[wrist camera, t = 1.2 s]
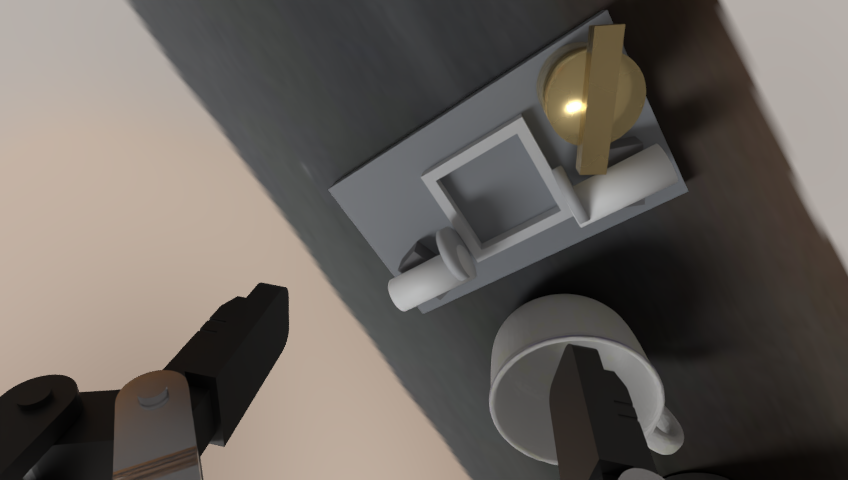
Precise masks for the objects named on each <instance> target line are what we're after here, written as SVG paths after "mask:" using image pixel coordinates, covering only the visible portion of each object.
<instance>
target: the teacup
mask: <svg viewBox="0 0 848 480" xmlns="http://www.w3.org/2000/svg"><path fill="white" fill-rule="evenodd" d="M567 344H574V345H580V346H585V347H590V348H595V349H597V350H598V352H599V355H600V358H601V362H602V365H603V368H604V370H609V371H614V372H615V373H616V374H617V376H618V377H619V378H620V379H621V381H622V382H623V383H624V384H625V386H626V387H627V389H628V391H629V394H630V397H631V400H632V403H633V407H634V408H635V411H636V414H637V417H638V421H639V422H640V425H641V428H642V431H643V433H644V436H645V439H646V442H647V444H648V447H649V448H650V449H652V450H653V451H655V452H657V453H660V454H663V455H668V454H673V453H674V452H676V451H677V450H678V449H679V448H680V447H681V446H682V444H683V441H684V434H683V431H682V428H681V426H680V424H679V423H678V421H677V420H676V418H675V417H674V416H673V414H672V413H671V412H670V411H669V410H668V409H667V408H666V407H665V406H664V403H665V397H664V387H663V384H662V381H661V379H660V377H659V375H658V373H657V371H656V369H655V368H654V367H653V365H652V364H651V363H650V362H649V360H648V358H647V356H646V355H645V353H644V351H643V349H642V347H641V345H640V344H639V342H638V340H637V339H636V337H635V335H634V334H633V332H632V331H631V329H630V328H629V326H628V325H627V324H626V323H625V322H624V320H623V319H622V318H621V317H620V316H619V315H618V314H617V313H616V312H614V311H613V310H612V309H611V308H609V307H608V306H606V305H604V304H603V303H601V302H598V301H596V300H594V299H591V298H588V297H585V296H580V295H574V294H554V295H548V296H543V297H540V298H537V299H534V300H532V301H530V302H528V303H525V304H524V305H522V306H521V307H519V308H518V309H516V310H515V311H514V312H513V313H512V314H511V315H510V316H509V317H508V318H507V319H506V320H505V321H504V323H503V324H502V326H501V327H500V329H499V331H498V333H497V336H496V338H495V341H494V345H493V350H492V360H491V389H490V393H489V405H490V412H491V417H492V418H493V421H494V424H495V426H496V427H497V429H498V431H499V432H500V434H501V435H502V436H503V437H504V438H505V440H506V441H508V442H509V443H510V444H511V445H512V446H513V447H514V448H516V449H517V450H519V451H521V452H522V453H524V454H525V455H527V456H529V457H532V458H535V459H537V460H540V461H544V462H547V463H550V464H555V465H558V461H557V454H556V447H555V440H554V433H553V426H552V420H551V413H550V406H549V395H550V388H551V384H552V381H553V378H554V376H555V373H556V370H557V368H558V365H559V362H560V360H561V357H562V355H563V352H564V349H565V347H566V346H567Z"/></svg>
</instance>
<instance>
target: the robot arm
mask: <svg viewBox="0 0 848 480" xmlns="http://www.w3.org/2000/svg"><path fill="white" fill-rule="evenodd" d="M288 333H289V297H288V290H287V288H286V287H281V286H276V285H271V284H265V283H259V284H258V285H257V286H256V287H255V288H254V289H253V290H252V292H251V293H250V294H249V295H248V296H247V298H244V297H238V296H237V297H236V298H234V299H232V300H230V301H228V302H227V303H225V304H223V305H221V306H220V307H219V308H218V310H217V311H216V312H215V313H214V314H213V315H212V316H211V317H210V320H209V321H207V322H206V323H205V324H204V325H203V326H202V327H201V329H200V331H198V332H197V333H196V334H195V335H194V336H193V337H192V338H191V339H190V340H189V342H188V343H187V344H186V345H185V346H184V347H183V348H182V349H181V350H180V351H179V353H178V354H177V355H176V356H175V357H174V358H173V359H172V360H171V362H169V364H168V365H167V366H166V367H165V368H164V369H163V370H158V371H152V372H149V373H146V374H143V375H140V376H138V377H136V378H135V379H133V380H132V381H130V382H129V383H127V384H126V385H125V386H124V387H123V388H122V389H121V390H109V391H94V392H79V390H78V387H77V384H76V382H75V381H74V380H73V379H72V378H70V377H67V376H64V375H46V376H41V377H36V378H34V379H30V380H27V381H25V382H23V383H21V384H18V385H17V386H15V387H13V388H12V389H10V390H8V391H7V392H6V393H4V394H3V395H2V396H1V397H0V480H203V474H202V466H201V459H200V456H201V455H202V453H203V452H204V450H205V449H206V447H207V446H208V444H214V445H218V446H223V447H225V445H226V443H227V442H228V440H229V438H230V437H231V435H232V433H233V432H234V430H235V428H236V427H237V425H238V424H239V422H240V420H241V418H242V417H243V415H244V414H245V412H246V410H247V409H248V407H249V405H250V404H251V402H252V400H253V399H254V397H255V396H256V394H257V392H258V391H259V389H260V387H261V386H262V384H263V382H264V381H265V379H266V377H267V376H268V374H269V372H270V370H271V369H272V368H273V366H274V364H275V363H276V361H277V359H278V358H279V356H280V354H281V353H282V351H283V349H284V347H285V345H286V342H287V338H288ZM549 406H550V413H551V420H552V426H553V433H554V440H555V447H556V454H557V461H558V467H559V474H560V480H729V479H727V478H725V477H722V476H718V475H715V474H708V473H684V474H678V475H674V476H670V477H667V478H665V479H664V478H662V477H661V476H659V475H658V472H657V470H656V467H655V464H654V461H653V458H652V456H651V453H650V450H649V447H648V444H647V442H646V439H645V436H644V433H643V431H642V428H641V425H640V422H639V421H638V417H637V414H636V411H635V408H634V407H633V403H632V400H631V397H630V394H629V391H628V389H627V387H626V386H625V384H624V383H623V382H622V381H621V379H620V378H619V377H618V376H617V374H616V373H615V372H614V371H609V370H604V368H603V365H602V362H601V358H600V355H599V352H598V350H597V349H595V348H590V347H585V346H580V345H574V344H567V346H566V347H565V349H564V352H563V355H562V357H561V360H560V362H559V365H558V368H557V370H556V373H555V376H554V378H553V381H552V384H551V388H550V395H549Z"/></svg>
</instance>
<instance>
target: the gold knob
mask: <svg viewBox="0 0 848 480" xmlns="http://www.w3.org/2000/svg"><path fill="white" fill-rule="evenodd" d="M624 32H625V24H603V25H589V31H588V42H574V43H570V44H567V45H564V46H562V47H560V48H559V49H557V50H556V51H554V52H553V53H552V54H551V55H550V56H549V57H548V58H547V59H546V61H545V62H544V64H543V65H542V67H541V69H540V71H539V74H538V77H537V83H536V91H537V97H538V100H539V102H540V105H541V106H542V108H543V110H544V112H545V114H546V116H547V118H548V120H549V122H550V124H551V126H552V127H553V129H554V130H555V132H556V133H557V134H558V135H559V136H560V137H561V138H562V139H564V140H565V141H567V142H569V143H571V144H574V145H577V146H578V148H577V159H576V169H577V171H578V172H579V174H580V175H606V173H607V165H608V158H609V150H610V143H611V142H613V141H615V140H617V139H618V138H620V137H621V136H623V135H624V134H625V133H626V132H627V131H628V130H630V129H631V127H632V126H633V125H634V124H635V123H636V121H637V119H638V118H639V116H640V114H641V112H642V110H643V107H644V103H645V99H646V84H645V79H644V76H643V74H642V72H641V70H640V68H639V67H638V65H637V64H636V63H635V62H634V61H633V60H632V59H631V58H629V57H628V56H627V55H625V54H623V53H622V48H623V40H624Z"/></svg>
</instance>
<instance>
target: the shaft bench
mask: <svg viewBox="0 0 848 480" xmlns="http://www.w3.org/2000/svg"><path fill="white" fill-rule="evenodd" d="M603 24H613V21H612V19H611V17H610V15H609V12H608V10H602V11H600V12H599V13H597V14H595V15H594V16H592V17H591V18H589V19H588V20H586V21H585V22H583V23H582V24H580V25H578V26H577V27H575V28H574V29H572V30H571V31H569V32H568V33H566V34H565V35H563V36H561V37H560V38H558V39H557V40H555V41H554V42H552V43H551V44H549V45H547V46H546V47H544V48H543V49H541V50H540V51H538V52H537V53H535V54H534V55H532V56H530V57H529V58H527V59H526V60H524V61H523V62H521V63H520V64H518V65H516V66H515V67H513V68H512V69H510V70H509V71H507V72H506V73H504V74H503V75H501V76H499V77H498V78H496V79H495V80H493V81H492V82H490V83H489V84H487V85H486V86H484V87H482V88H481V89H479V90H478V91H476V92H475V93H473V94H472V95H470V96H468V97H467V98H465V99H464V100H462V101H461V102H459V103H458V104H456V105H455V106H453V107H451V108H450V109H448V110H447V111H445V112H444V113H442V114H441V115H439V116H438V117H436V118H434V119H433V120H431V121H430V122H428V123H427V124H425V125H424V126H422V127H420V128H419V129H417V130H416V131H414V132H413V133H411V134H410V135H408V136H407V137H405V138H403V139H402V140H400V141H399V142H397V143H396V144H394V145H393V146H391V147H390V148H388V149H386V150H385V151H383V152H382V153H380V154H379V155H377V156H376V157H374V158H372V159H371V160H369V161H368V162H366V163H365V164H363V165H362V166H360V167H359V168H357V169H355V170H354V171H352V172H351V173H349V174H348V175H346V176H345V177H343V178H342V179H340V180H338V181H337V182H335V183H334V184H333V185H332V186H331V187H330V188H329V189H328V190H329V192H330V193H331V194H332V195H333V197H334V198H335V199H336V201H337V202H338V203H339V205H340V206H341V207H342V209H343V210H344V211H345V213H346V214H347V215H348V216H349V218H350V219H351V220H352V222H353V223H354V224H355V226H356V227H357V228H358V230H359V231H360V232H361V234H362V235H363V236H364V237H365V239H366V240H367V241H368V243H369V244H370V245H371V247H372V248H373V249H374V251H375V252H376V253H377V255H378V256H379V257H380V258H381V260H382V261H383V262H384V264H385V265H386V266H387V268H388V269H389V270H390V272H391V273H392V274H393V276H394V277H395V278H393V279H391V280H390V281H389V283H388V290H389V294H390V296H391V299H392V301H393V302H394V304H395V305H396V306H397V307H398V308H399V309H400V310H402V311H407V310H409V309H411V308H413V307H415V306H417V307H418V308H419V310H420V311H421V312H422V314H424V313H426V312H428V311H431V310H433V309H435V308H437V307H439V306H441V305H444V304H446V303H448V302H450V301H452V300H454V299H457V298H459V297H461V296H463V295H465V294H467V293H470V292H472V291H474V290H476V289H478V288H480V287H483V286H485V285H487V284H489V283H491V282H493V281H495V280H498V279H500V278H502V277H504V276H506V275H508V274H511V273H513V272H515V271H517V270H519V269H521V268H524V267H526V266H528V265H530V264H532V263H534V262H537V261H539V260H541V259H543V258H545V257H547V256H550V255H552V254H554V253H556V252H558V251H560V250H562V249H565V248H567V247H569V246H571V245H573V244H575V243H578V242H580V241H582V240H584V239H586V238H588V237H591V236H593V235H595V234H597V233H599V232H601V231H604V230H606V229H608V228H610V227H612V226H614V225H616V224H619V223H621V222H623V221H625V220H627V219H629V218H632V217H634V216H636V215H638V214H640V213H642V212H645V211H647V210H649V209H651V208H653V207H655V206H658V205H660V204H662V203H664V202H666V201H668V200H671V199H673V198H675V197H677V196H679V195H681V194H683V193H686V192H688V189H687V187H686V185H685V183H684V180H683V178H682V176H681V174H680V171H679V169H678V167H677V165H676V162H675V160H674V158H673V156H672V154H671V151H670V149H669V147H668V145H667V142H666V140H665V138H664V136H663V133H662V131H661V129H660V127H659V124H658V122H657V120H656V118H655V115H654V113H653V111H652V109H651V106H650V104H649V102H648V100H647V98H646V99H645V103H644V107H643V110H642V112H641V114H640V116H639V118H638V119H637V121H636V123H635V124H634V125H633V126H632V127H631V129H630V130H628V131H627V132H626V133H625V134H624V135H623V136H621V137H620V138H618V139H617V140H615V141H613V142H611V143H610V150H609V158H608V165H607V173H606V175H580V174H579V172H578V171H577V169H576V159H577V148H578V146H577V145H574V144H571V143H569V142H567V141H565V140H564V139H562V138H561V137H560V136H559V135H558V134H557V133H556V132H555V130H554V129H553V127H552V126H551V124H550V122H549V120H548V118H547V116H546V114H545V112H544V110H543V108H542V106H541V105H540V102H539V100H538V97H537V91H536V83H537V77H538V74H539V71H540V69H541V67H542V65H543V64H544V62H545V61H546V59H547V58H548V57H549V56H550V55H551V54H552V53H553V52H554V51H556V50H557V49H559V48H560V47H562V46H564V45H567V44H570V43H574V42H588V31H589V25H603ZM622 53H623V54H625V55H627V53H626V50H625V48H624V46H623V48H622ZM627 56H628V55H627Z"/></svg>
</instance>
